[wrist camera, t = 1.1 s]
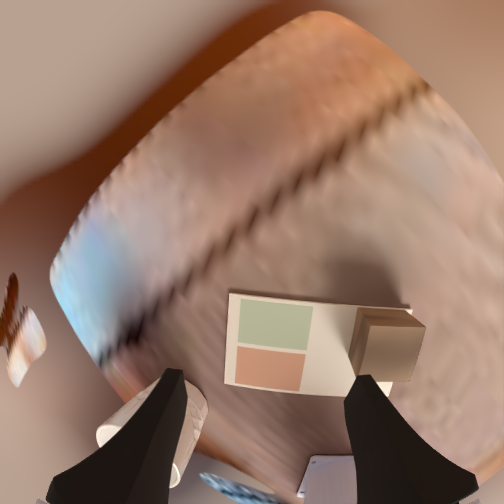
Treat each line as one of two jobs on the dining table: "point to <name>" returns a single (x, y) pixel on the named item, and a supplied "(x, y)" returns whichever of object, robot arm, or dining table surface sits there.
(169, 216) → the dining table surface
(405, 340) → the block
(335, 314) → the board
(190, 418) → the white cup
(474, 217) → the dining table surface
